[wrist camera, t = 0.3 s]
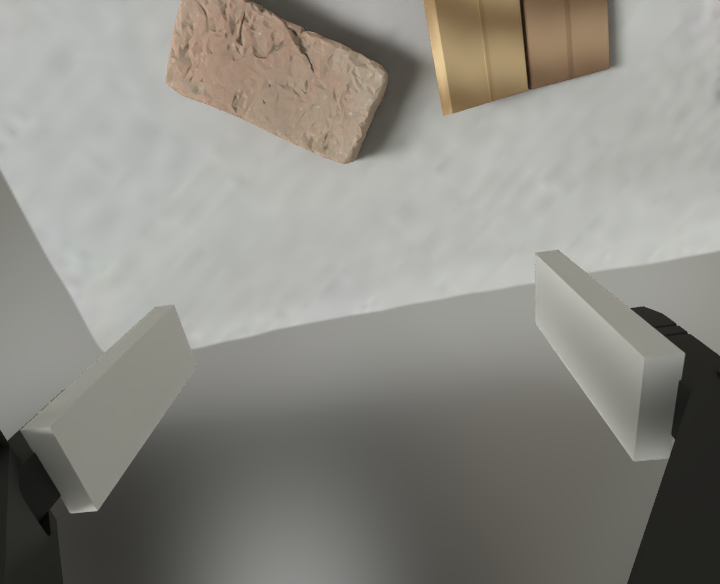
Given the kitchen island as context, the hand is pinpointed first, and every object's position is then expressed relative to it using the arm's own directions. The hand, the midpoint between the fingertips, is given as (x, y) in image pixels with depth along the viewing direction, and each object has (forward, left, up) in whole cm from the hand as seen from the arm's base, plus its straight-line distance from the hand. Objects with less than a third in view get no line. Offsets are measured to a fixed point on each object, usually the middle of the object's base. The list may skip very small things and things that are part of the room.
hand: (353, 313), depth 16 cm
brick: (-11, -5, -28) cm, 30 cm away
